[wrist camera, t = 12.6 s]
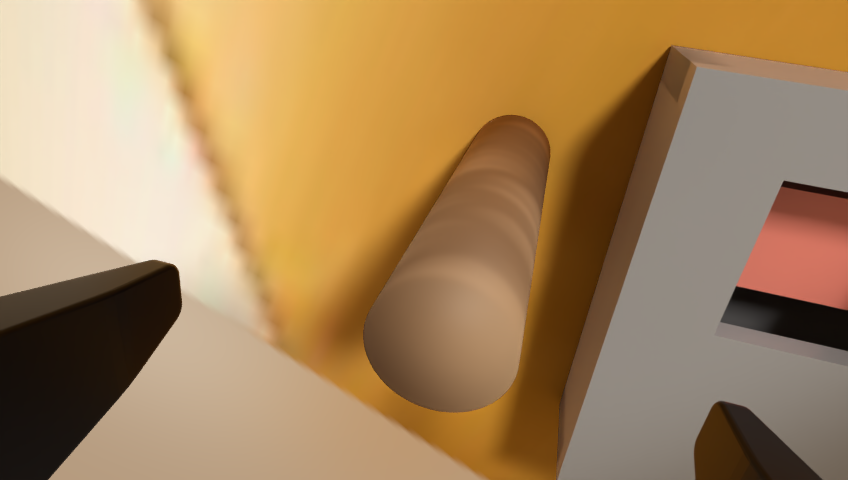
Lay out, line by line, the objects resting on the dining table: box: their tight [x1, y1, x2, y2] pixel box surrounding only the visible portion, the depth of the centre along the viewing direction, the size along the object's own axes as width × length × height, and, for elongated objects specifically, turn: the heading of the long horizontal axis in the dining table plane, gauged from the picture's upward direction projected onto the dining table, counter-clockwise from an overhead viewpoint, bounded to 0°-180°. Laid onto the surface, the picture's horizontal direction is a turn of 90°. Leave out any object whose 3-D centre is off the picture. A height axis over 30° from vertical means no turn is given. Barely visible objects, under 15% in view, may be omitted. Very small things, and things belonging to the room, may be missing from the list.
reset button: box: [736, 181, 848, 310], centre depth 16 cm, size 3×3×2 cm
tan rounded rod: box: [363, 115, 550, 412], centre depth 14 cm, size 3×3×11 cm
